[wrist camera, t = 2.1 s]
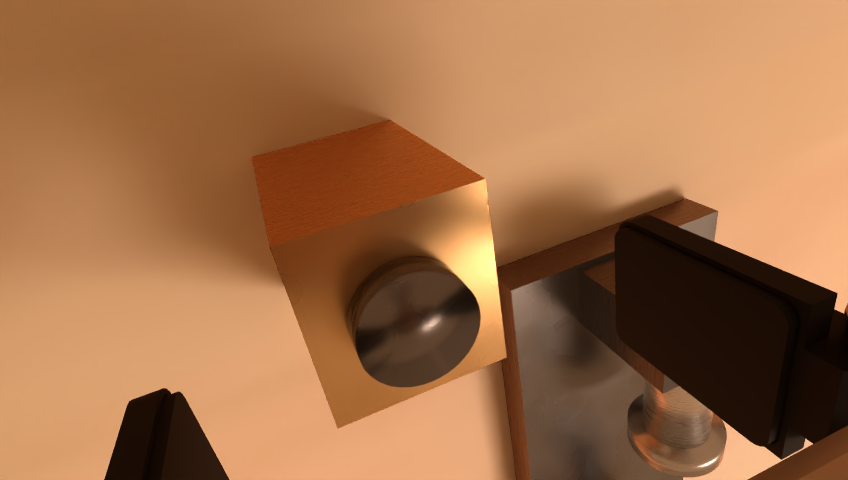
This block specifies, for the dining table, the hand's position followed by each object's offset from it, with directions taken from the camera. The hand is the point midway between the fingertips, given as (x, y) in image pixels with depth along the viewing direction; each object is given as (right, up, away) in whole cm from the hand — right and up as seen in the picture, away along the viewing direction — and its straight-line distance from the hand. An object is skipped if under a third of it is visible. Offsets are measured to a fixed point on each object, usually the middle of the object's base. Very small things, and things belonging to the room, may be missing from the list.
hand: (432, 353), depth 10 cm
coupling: (-3, +3, +5) cm, 6 cm away
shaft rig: (+8, -6, +13) cm, 17 cm away
